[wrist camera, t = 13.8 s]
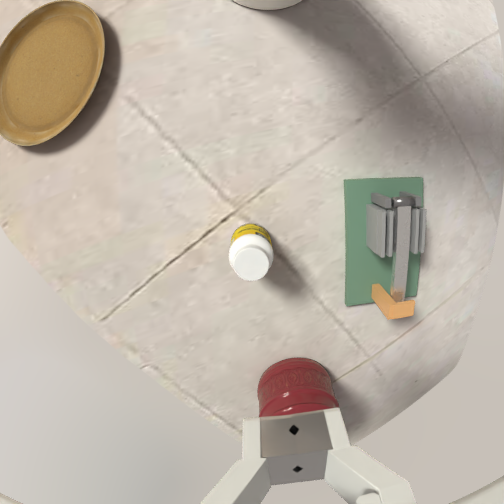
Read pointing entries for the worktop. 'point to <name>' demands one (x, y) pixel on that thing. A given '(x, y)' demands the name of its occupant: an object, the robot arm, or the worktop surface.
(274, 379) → the canister
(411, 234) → the heatsink base
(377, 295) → the bracket
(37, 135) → the plant saucer
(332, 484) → the robot arm
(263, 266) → the supplement bottle
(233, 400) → the worktop surface
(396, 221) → the strap
